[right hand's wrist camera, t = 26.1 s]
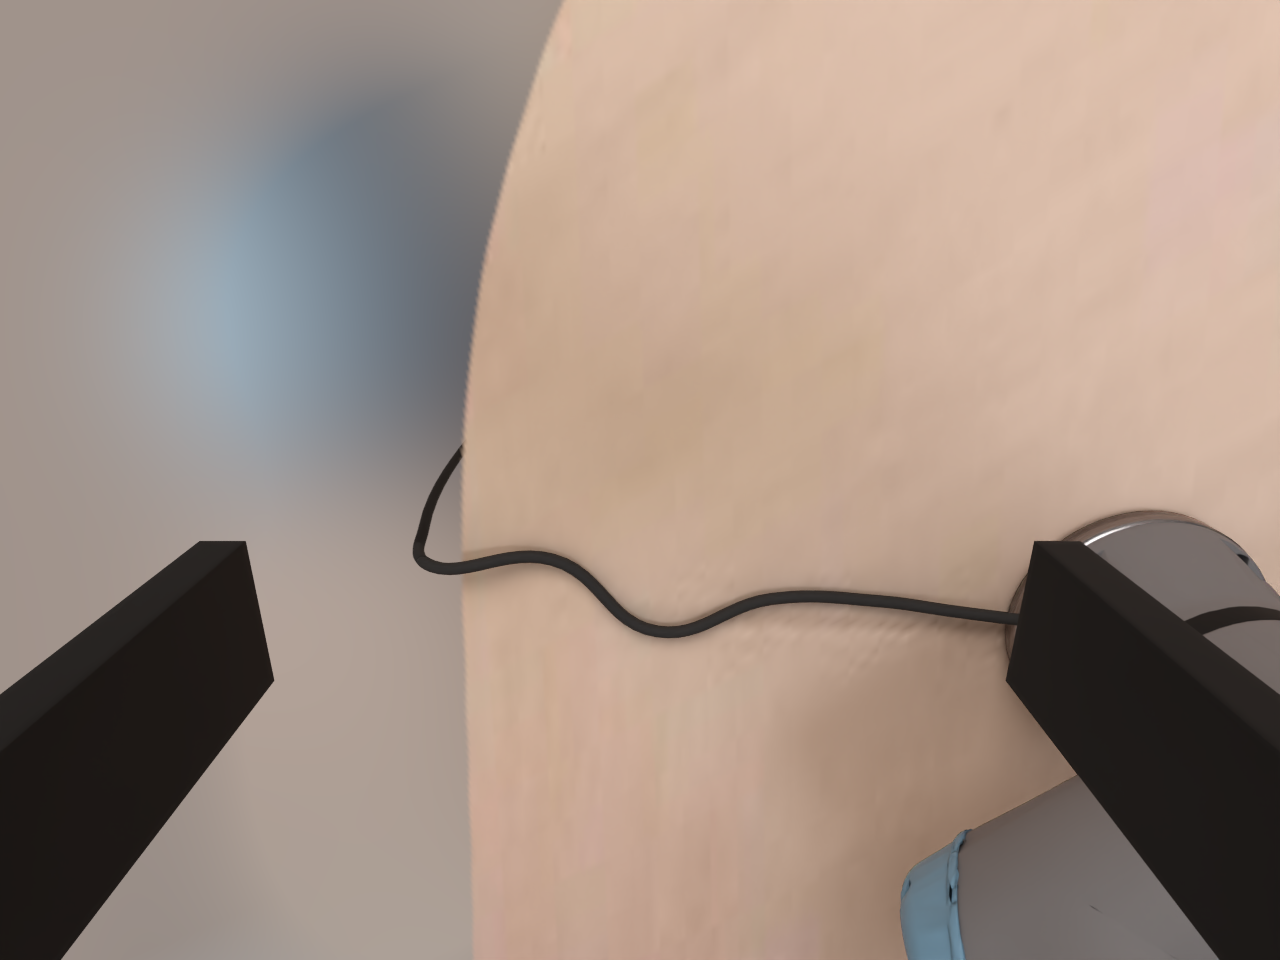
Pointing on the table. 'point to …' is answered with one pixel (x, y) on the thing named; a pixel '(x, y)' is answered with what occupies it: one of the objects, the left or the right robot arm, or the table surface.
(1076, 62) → the table surface
